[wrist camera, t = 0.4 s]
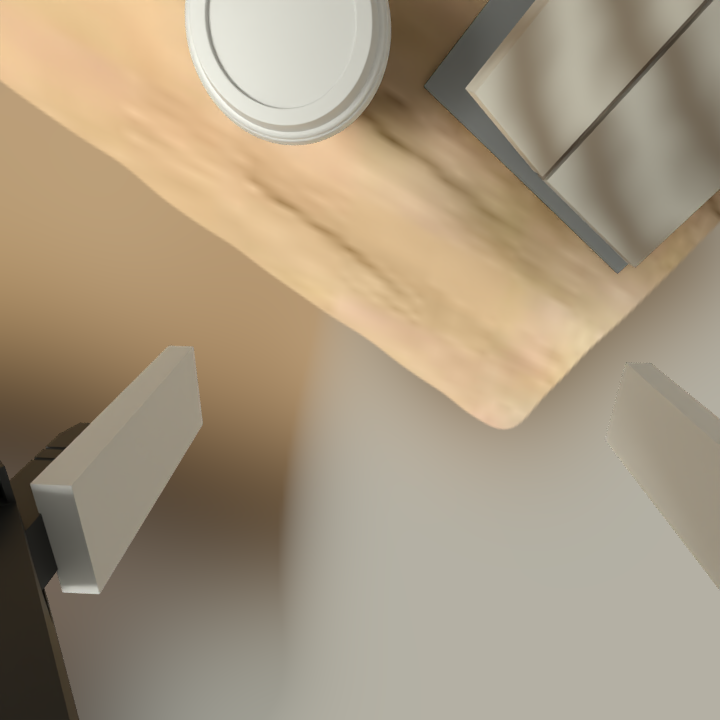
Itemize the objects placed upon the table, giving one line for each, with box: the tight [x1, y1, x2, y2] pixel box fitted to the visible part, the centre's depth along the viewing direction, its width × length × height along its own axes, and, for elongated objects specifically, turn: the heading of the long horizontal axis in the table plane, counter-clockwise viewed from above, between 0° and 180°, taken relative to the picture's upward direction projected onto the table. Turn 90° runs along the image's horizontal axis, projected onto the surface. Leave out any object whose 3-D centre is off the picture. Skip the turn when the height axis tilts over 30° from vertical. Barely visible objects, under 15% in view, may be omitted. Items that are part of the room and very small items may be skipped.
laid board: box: [538, 0, 720, 267], centre depth 34 cm, size 20×10×1 cm, turn 141°
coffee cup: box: [185, 0, 391, 145], centre depth 28 cm, size 10×10×15 cm
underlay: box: [424, 0, 628, 273], centre depth 34 cm, size 22×21×1 cm
